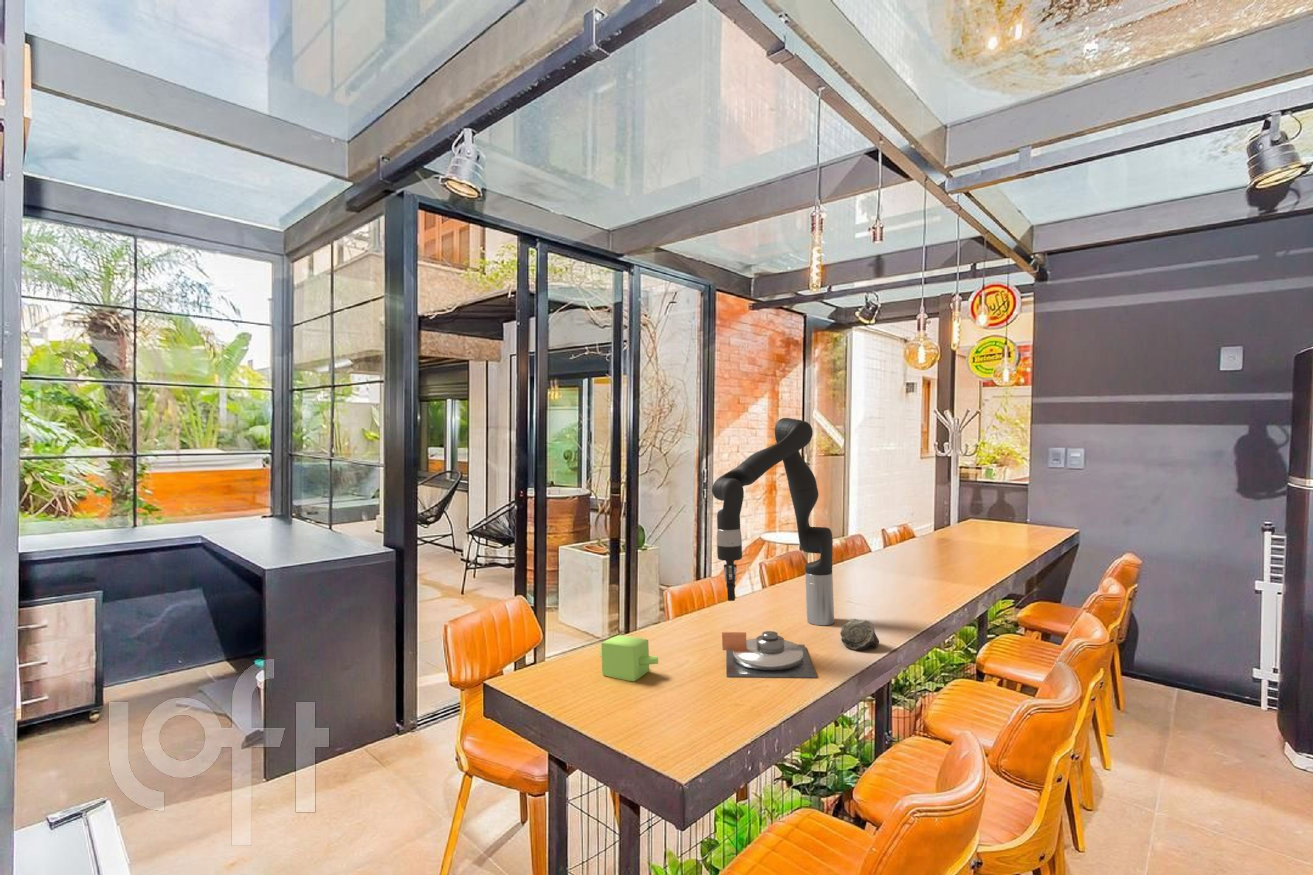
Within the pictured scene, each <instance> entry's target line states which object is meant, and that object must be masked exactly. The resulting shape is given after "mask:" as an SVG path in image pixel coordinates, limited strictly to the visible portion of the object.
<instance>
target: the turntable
mask: <svg viewBox="0 0 1313 875" xmlns="http://www.w3.org/2000/svg"><path fill="white" fill-rule="evenodd" d="M721 638H722V639H721V640H722V641H721V642H722V651H726V650H733V658H734V660H735V661H736V662H737V663H739V664H741V665H743V666H746V667H750V668H754V669H761V670H781V669H788V668H792V667H795V666H797V665H799V664H800V663H801V662H802V661H803V650H802V648H801V647H800V646H799V645H800V644H797V643H794V642H792V641H789V640H785V639H784V652H782V653H779V654H764V653H761V652H759V651H757V646H756V638H749V639H747V632H742V631H741V632H735V631H734V632H732V631H731V632H728V631H727V632H724V631H723V632H721Z"/></svg>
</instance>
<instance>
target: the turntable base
mask: <svg viewBox="0 0 1313 875" xmlns="http://www.w3.org/2000/svg"><path fill="white" fill-rule="evenodd" d="M798 645H799V646H800V647H801V648H802V650H803V661H802V662H801V663H800V664H799V665H797V666H795V667H792V668H788V669H781V670H761V669H754V668H750V667H746V666H743V665H741V664H739V663H737V662H736V661H735V660H734V658H733V650H725V651H726V652H725V653H726V654H725V655H726V663H725V664H726V667H725V668H726V672H725V673H726V678H786V679H787V678H790V679H791V678H793V679H794V678H796V679H797V678H798V679H799V678H801V679H803V678H804V679H817V673H816V670H815V669H814V666H813V663H812V661H811V660H812V659H811V657H810V655H809V653H808V651H807V648H806V645H805V644H798Z"/></svg>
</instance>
